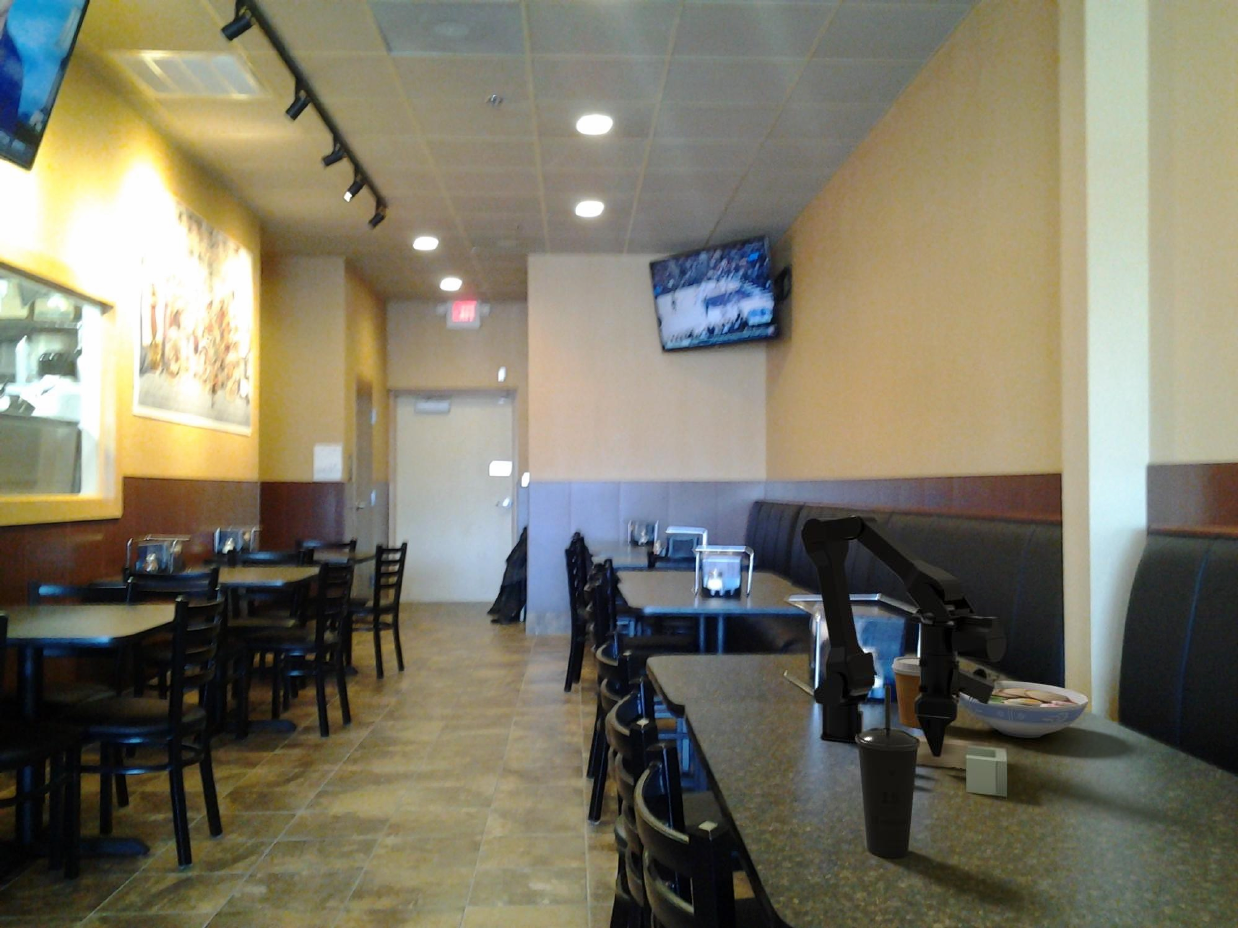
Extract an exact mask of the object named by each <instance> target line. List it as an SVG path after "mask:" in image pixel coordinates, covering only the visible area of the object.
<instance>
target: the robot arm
mask: <svg viewBox="0 0 1238 928" xmlns="http://www.w3.org/2000/svg"><path fill="white" fill-rule="evenodd" d="M800 537H801V541H802V545H803V547H804V551H805V554H806V555H807V557H808V558H809V560H810V561H811V562H812V564H813V565H814V567H815V569H816V572H817V578H818V583H819V589H820V594H821V600H822V606H823V612H824V617H825V624H826V629H827V635H828V641H829V651H828V655H827V656H826V657H827V658H826V661H825V663H824V664H825V665H824V666H825V679H824V680H823V681H822V682H821V683H820V684H819V685H818V686H817V687H816V688H814V690H813V696H814V700H815V702H816V704H818V705H822V707H821V708H822V709H821V710H822V711H821V712H822V713H821V715H822V717H821V718H822V719H821V720H822V721H821V727H822V729H821V731H822V733H821V734H820V737H819V738H820V739H821V740H828V741H829V740H830V741H837V742H838V741H839V742H846V743H847V742H848V743H857V742H856V735H857V734H858V733H861V732H864V711H863V710H861V703H864V702H865V703H866V702H867V701H868V698H869V694H870V692H871V691H872V690H873V688H874V687H875V684H876V677H875V676H878V672H877V670H876V667H875V664H874V663H875V662H874V654H873V652H872V651H869V652H865V650H864V649H863V648H862V647H861V645H860V644H859V641H858V640H859V639H858V635H857V628H856V624H855V618H854V617H855V616H854V613H853V607H852V601H851V597H850V589H849V585H848V580H847V574H846V569H845V562H846V560H847V556H848V553H849V550H850V544H849V543H850V541H858V542H859V543H860V544H861V545H862V546H863V547H864V548H866V549H867V551H869V552H870V553H871V554H872V555H873V556H875V557H876V558H877V559H878V560H879V561H880V562H881V563H882V564H883V565H885V566H886V567H887V568H888V569H889V570H891V572H893V574H894V575H896V576H897V577H898V578H899V579H900V580H901V581H902V583H903V585H904V588H905V591H906V594H907V595H908V596H909V597H910V598H911V600H912V601H913V602H914V603H915V605H917V607H918V608H917V610H916V611H915V612H914V613H913V614H912V615H910V616H909V617H908V619H907V620H908V623H914V624H919V657H920V659H919V666H920V684H919V692H921V694H920V695H918V696H917V697H916V699H915V714H916V718H917V719H918V721H919V723H920V726H921V728H920V729H921V730H922V732H923V733H922V734H923V735H924V737H926V740H927V742H928V745H929V747H930V750H931V752H932V755H933V756H934V757H940V756H941V751H942V746H943V741H944V739H945V736H946V731H947V727H948V726H949V725H951V724H952V723H953V722H955V721H956V720H957V718H958V704H959V703H960V692H961V693H963V694H965V695H967V696H970V697H972V698H974V699H977V700H978V701H979V702H981V703H983V704H988V702H989V700H990V697H991V695H992V692H993V690H994V687H995V683H994V682H993V681H992V680H991V679H992V678H991V679H990V678H989V679H987V673H988V672H987V670H986V669H985V668H982V667H979V666H977V667H975V668H974V669H973V670H971V671H970V670H969V669H968V670H966V669H964V668H961V667H960V660H959V659H958V656H960V657H963V658H969V659H975V660H981V661H987V662H993V663H997V662H999V661H1001V660H1002V659H1003V657H1004V655H1005V652H1006V648H1007V637H1005V633H1004V630H1003V628H1002V627H1001V626H1000V624H999V618H998V617H997V616H978V613H977V612H976V611H975V609H974V607H973V606H972V604H971V602H970V601H969V599H968V598H967V596H966V595H965V593H964V590H963V588H964V586H963V584H962V582H961V581H960V580H959V578H957V577H955V576H953V575H952V574H950V573H948V572H947V571H945V570H943V569H942V568H939V567H937V566H935V565H932V564H929V563H927V562H925V561H923V560H922V559H921V558H920V557H919V556H917V555H916V554H915V553H914V552H913V551H911V549H909V548H908V547H907V546H906V545H905V544H903V543H902V542H901V541H900V540H899V539H897V538H896V537H895V536H894V535H893V534H891V533H890V532H889V531H888V530H887V529H886V528H885V527H883V526H882V525H881V524H880V523H879V521H878V520H877V519H876V518H875V517H874V516H872V515H869V514H857V515H856V514H854V515H851V516H849V517H844V518H838V517H813V518H808V520H806V521H805V522H804V524H803V526H802V527H801V530H800ZM925 692H927V693H925ZM954 696H955V697H954Z"/></svg>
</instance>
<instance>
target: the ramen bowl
mask: <svg viewBox="0 0 1238 928" xmlns="http://www.w3.org/2000/svg"><path fill="white" fill-rule="evenodd" d="M991 677H992V673H991V672H987V679H989V680H990V678H991ZM1000 678H1001V674H1000V673H996V674H995V675H994V676H993V677H992V678H991V680H992V681H993V682H994V683H995V687H994V690H993V692H992V695H991V697H990V700H989V702H988V704H983V703H981V702H979V701H978V700H977V699H974V698H972V697H970V696H967V695H965V694H963V693H961V692H960V698H959V701H960V702H961V703H962V704H963V706H964V708H965V709H966V710H967V712H968V713H969V714H970V715H971V716H973V717H974V718H975V719H976V720H978V721H980V722H981V723H983V724H985V725H986V726H988V727H991V728H993V729H996V730H997V731H998V732H1000V733H1002V734H1003V735H1006V736H1011V737H1017V738H1024V739H1025V738H1027V739H1028V738H1030V739H1031V738H1032V739H1033V738H1040V737H1042V736H1044V735H1047V734H1051V733H1054V732H1058V731H1061V730H1064V729H1065V728H1067V727H1068V726H1070V725H1072V724H1074V723H1075V722H1076V721H1077V720H1078V719H1079V718H1080V717H1081V715H1082V714H1083V712H1084V711H1085V710H1086V708H1087V707H1088V704H1089V703H1090V699H1089V698H1088V696H1087V695H1086V694H1083V693H1080V692H1077V691H1076V690H1072V689H1068V688H1065V687H1064V688H1063V687H1060V686H1054V685H1049V684H1044V683H1043V684H1041V683H1035V682H1027V681H1025V682H1024V681H1015V680H1014V681H1013V680H1011V681H1010V680H999V679H1000Z"/></svg>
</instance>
